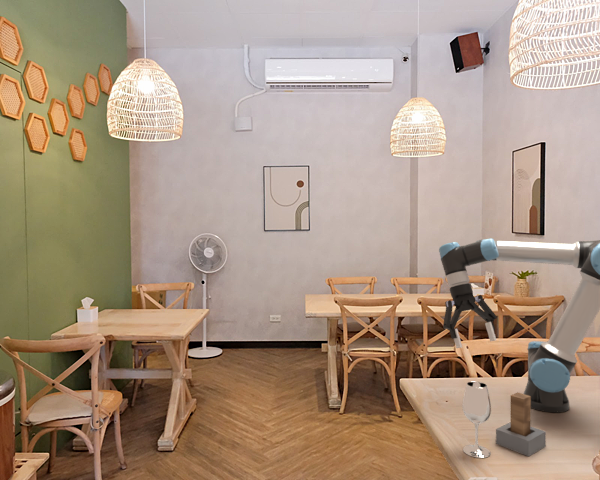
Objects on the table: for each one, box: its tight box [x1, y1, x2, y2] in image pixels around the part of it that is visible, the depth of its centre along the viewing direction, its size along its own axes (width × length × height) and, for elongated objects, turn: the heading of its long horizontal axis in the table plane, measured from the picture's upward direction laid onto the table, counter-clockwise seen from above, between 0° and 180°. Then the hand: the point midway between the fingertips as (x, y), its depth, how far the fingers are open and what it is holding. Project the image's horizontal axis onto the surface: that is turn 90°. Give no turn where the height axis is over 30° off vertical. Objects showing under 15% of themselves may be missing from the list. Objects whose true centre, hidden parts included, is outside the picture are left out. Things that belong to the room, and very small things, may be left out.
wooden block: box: [510, 391, 532, 437], centre depth 140 cm, size 4×4×14 cm
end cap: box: [495, 421, 547, 457], centre depth 140 cm, size 10×10×4 cm
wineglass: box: [462, 380, 492, 459], centre depth 136 cm, size 8×8×20 cm
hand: (476, 344), depth 162 cm, fingers open, 13 cm apart
